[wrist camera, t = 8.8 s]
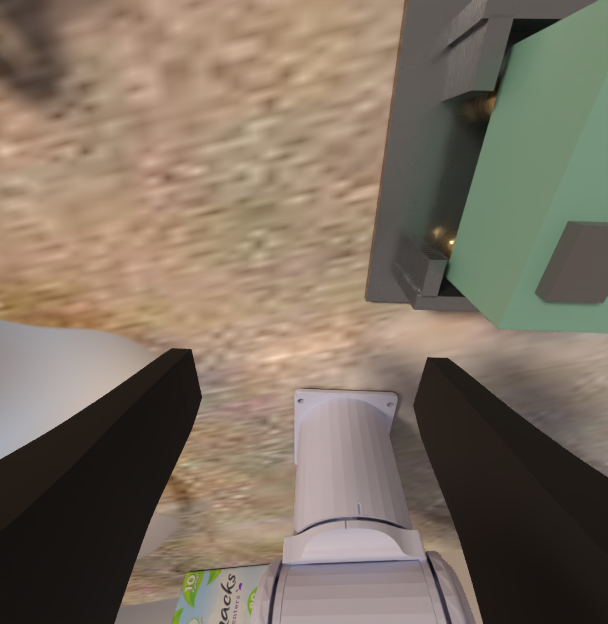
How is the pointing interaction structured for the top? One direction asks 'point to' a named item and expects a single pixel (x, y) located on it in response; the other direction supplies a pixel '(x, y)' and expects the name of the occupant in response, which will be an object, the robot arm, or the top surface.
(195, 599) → the snack box
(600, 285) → the green knobbed block
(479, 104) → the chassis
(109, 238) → the top surface
